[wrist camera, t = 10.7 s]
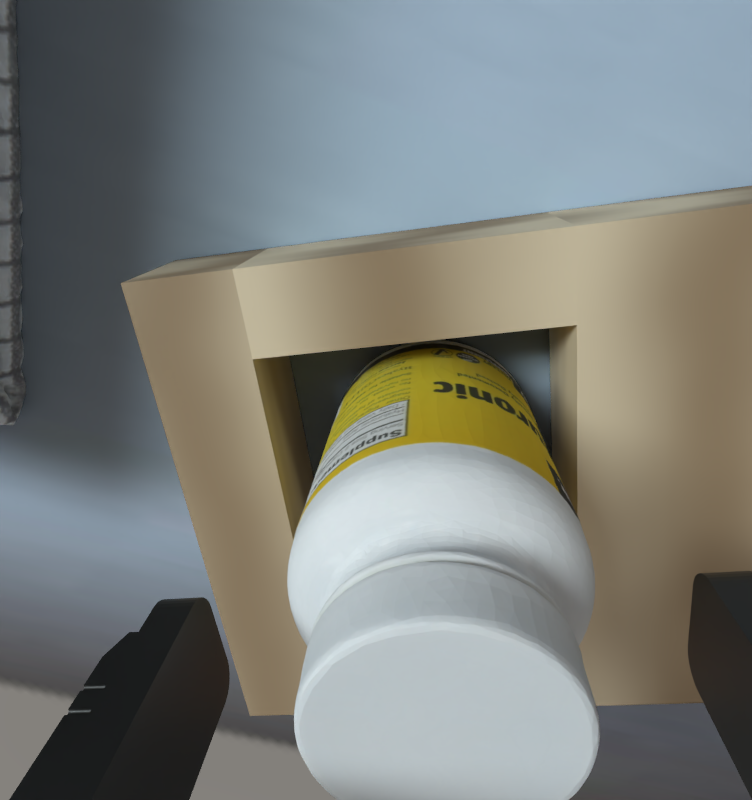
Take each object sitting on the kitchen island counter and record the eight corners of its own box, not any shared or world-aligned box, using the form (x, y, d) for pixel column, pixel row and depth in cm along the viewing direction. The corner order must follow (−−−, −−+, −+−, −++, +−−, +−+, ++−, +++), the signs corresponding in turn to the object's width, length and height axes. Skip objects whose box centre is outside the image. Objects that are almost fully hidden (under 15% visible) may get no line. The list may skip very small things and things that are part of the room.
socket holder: (1359, 106, 12) (1675, 89, 9) (1135, 600, 17) (1290, 697, 14) (175, 260, 15) (113, 286, 12) (274, 638, 20) (247, 724, 17)
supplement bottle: (568, 439, 16) (745, 788, 7) (418, 535, 18) (411, 916, 9) (450, 291, 15) (487, 495, 6) (299, 411, 17) (151, 711, 8)
